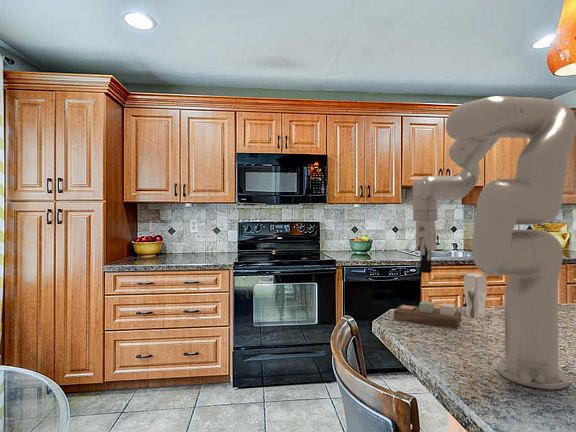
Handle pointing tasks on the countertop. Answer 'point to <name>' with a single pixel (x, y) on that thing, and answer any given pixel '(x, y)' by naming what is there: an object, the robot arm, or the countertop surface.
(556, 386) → the robot arm
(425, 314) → the console
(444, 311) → the key cream
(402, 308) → the key terracotta
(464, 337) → the countertop surface
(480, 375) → the countertop surface
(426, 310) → the key sage
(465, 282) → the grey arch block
